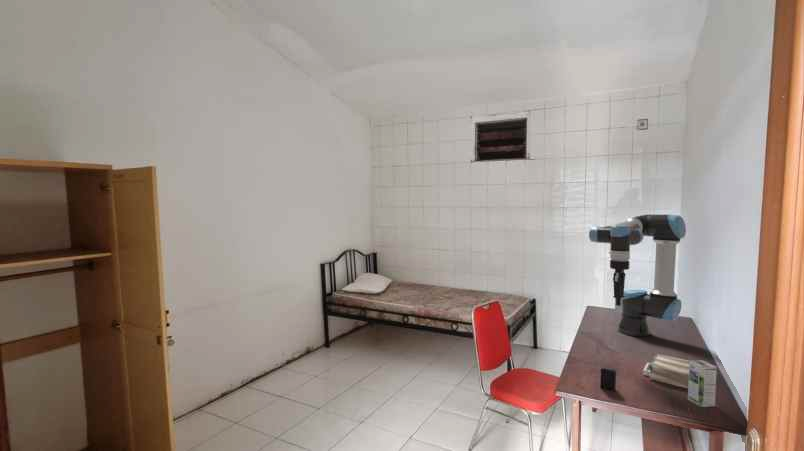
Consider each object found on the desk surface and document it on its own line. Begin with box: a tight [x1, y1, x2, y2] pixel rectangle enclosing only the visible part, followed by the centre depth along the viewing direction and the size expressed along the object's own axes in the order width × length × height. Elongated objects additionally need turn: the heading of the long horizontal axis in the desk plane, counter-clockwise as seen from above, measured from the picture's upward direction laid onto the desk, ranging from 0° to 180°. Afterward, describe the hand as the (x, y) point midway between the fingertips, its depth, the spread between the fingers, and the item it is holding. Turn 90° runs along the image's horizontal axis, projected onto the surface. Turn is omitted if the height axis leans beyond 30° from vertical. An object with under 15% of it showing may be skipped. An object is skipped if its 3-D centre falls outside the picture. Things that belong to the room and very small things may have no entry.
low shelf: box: [649, 353, 690, 389], centre depth 158 cm, size 16×14×6 cm
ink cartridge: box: [599, 366, 617, 392], centre depth 149 cm, size 5×2×8 cm, turn 52°
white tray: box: [642, 362, 652, 377], centre depth 160 cm, size 10×14×2 cm
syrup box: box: [687, 359, 717, 408], centre depth 137 cm, size 6×6×14 cm
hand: (618, 312), depth 173 cm, fingers closed
